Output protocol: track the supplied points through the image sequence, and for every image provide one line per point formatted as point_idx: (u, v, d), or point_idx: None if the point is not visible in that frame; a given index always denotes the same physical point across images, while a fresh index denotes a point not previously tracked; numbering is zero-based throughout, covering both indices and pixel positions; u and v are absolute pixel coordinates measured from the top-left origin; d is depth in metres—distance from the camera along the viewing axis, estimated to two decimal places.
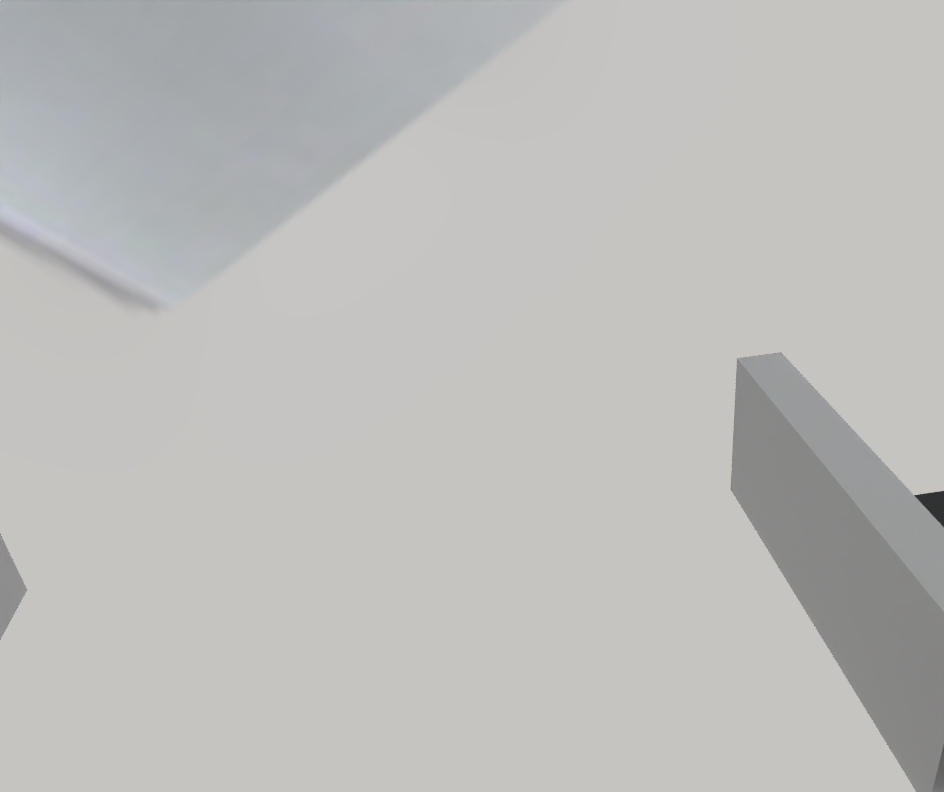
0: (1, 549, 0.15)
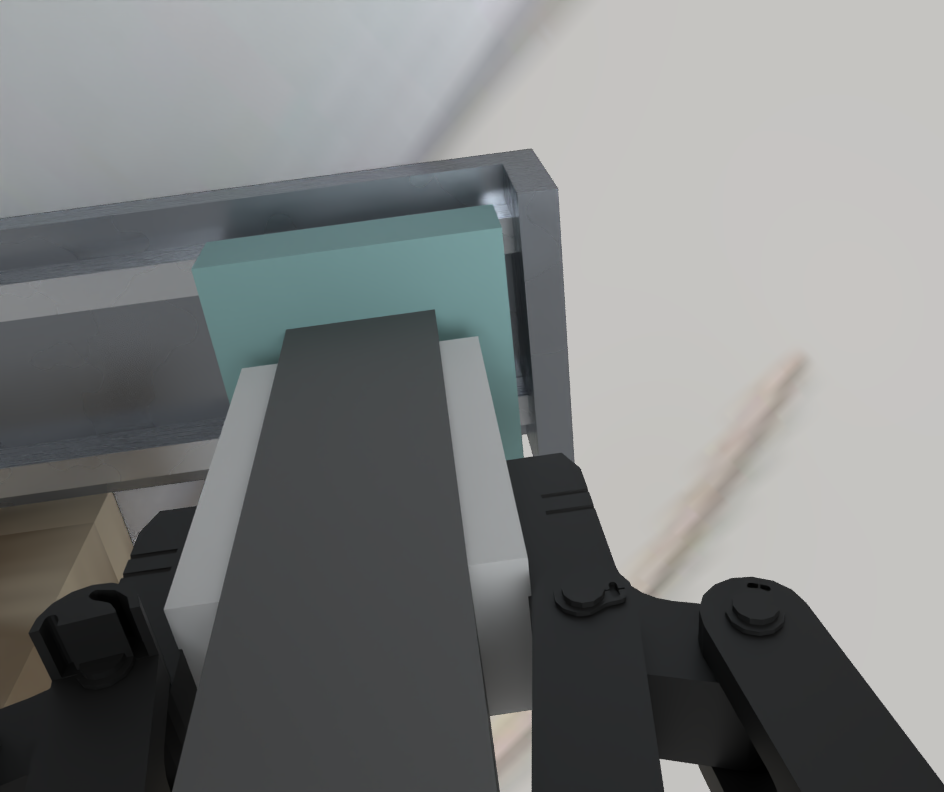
0: None
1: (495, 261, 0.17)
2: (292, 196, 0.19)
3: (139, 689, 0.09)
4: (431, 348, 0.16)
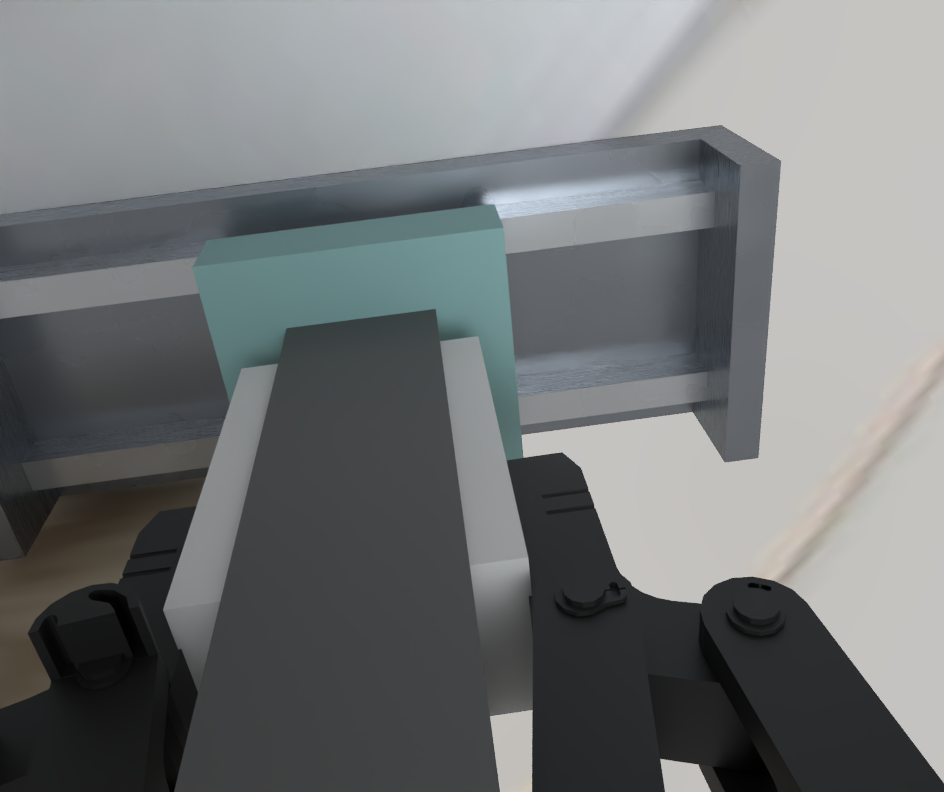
0: None
1: (496, 261, 0.17)
2: (492, 170, 0.19)
3: (138, 689, 0.09)
4: (432, 347, 0.16)
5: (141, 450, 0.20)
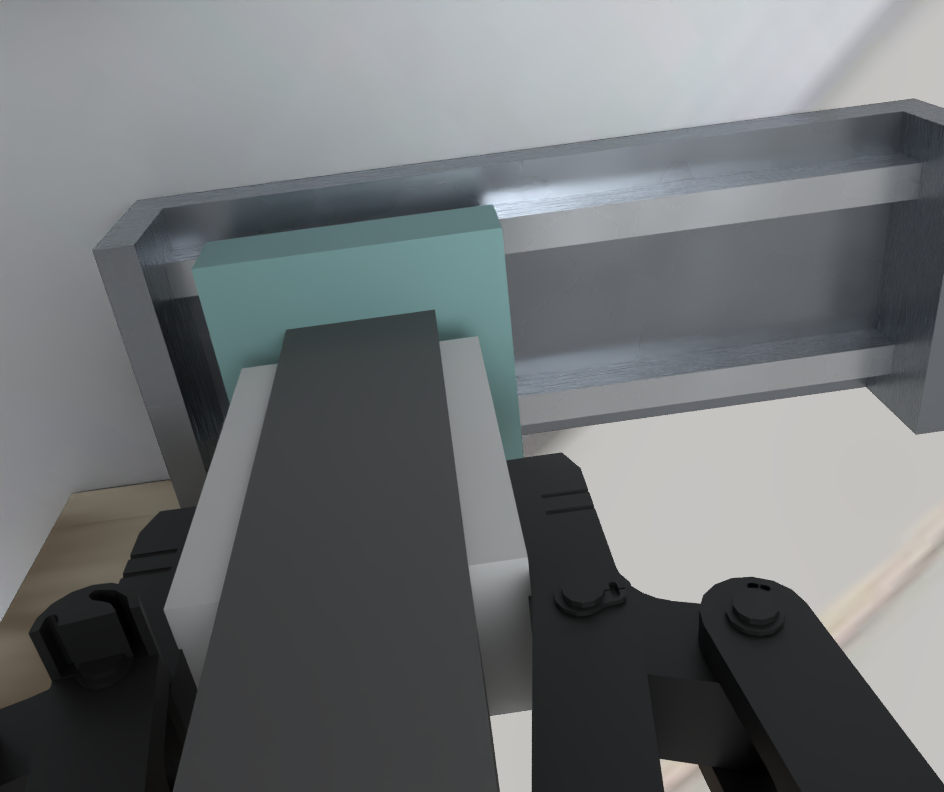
0: None
1: (495, 261, 0.17)
2: (695, 143, 0.19)
3: (139, 689, 0.09)
4: (431, 348, 0.16)
5: None
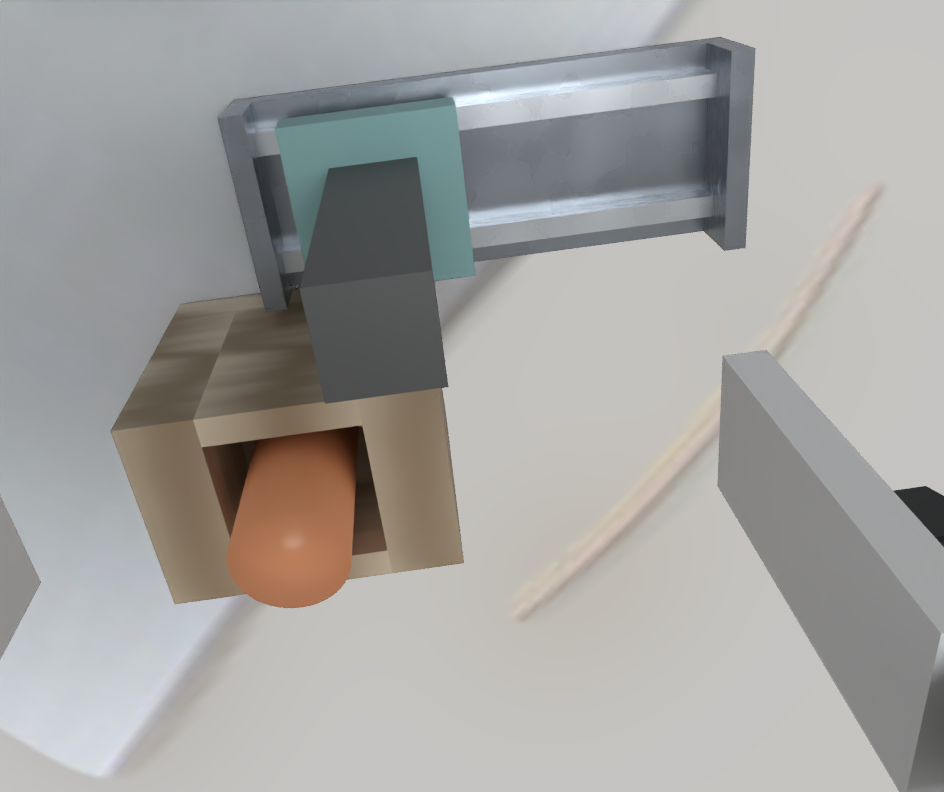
0: (16, 542, 0.15)
1: (452, 126, 0.28)
2: (579, 62, 0.31)
3: None
4: (413, 170, 0.27)
5: None
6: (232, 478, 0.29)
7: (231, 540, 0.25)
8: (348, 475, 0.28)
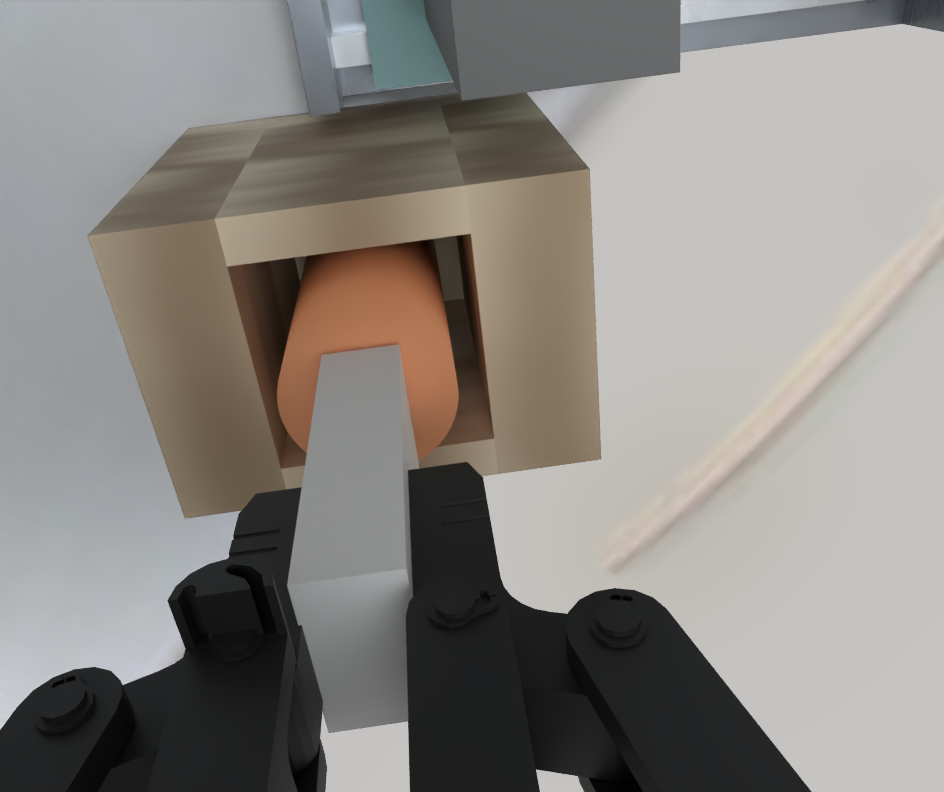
0: None
1: None
2: None
3: (268, 667, 0.10)
4: None
5: None
6: (267, 337, 0.20)
7: (284, 363, 0.17)
8: (440, 299, 0.20)
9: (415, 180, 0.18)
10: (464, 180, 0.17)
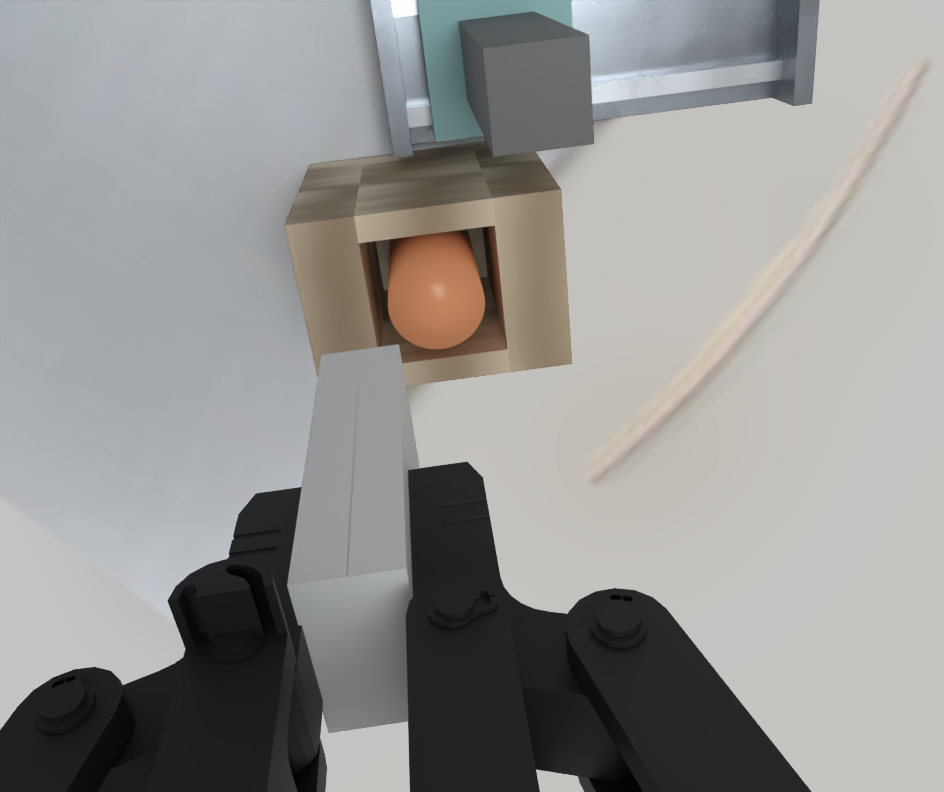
0: None
1: None
2: None
3: (267, 667, 0.10)
4: (536, 14, 0.32)
5: None
6: (371, 289, 0.34)
7: (393, 284, 0.31)
8: (473, 256, 0.34)
9: (463, 195, 0.31)
10: (491, 195, 0.31)
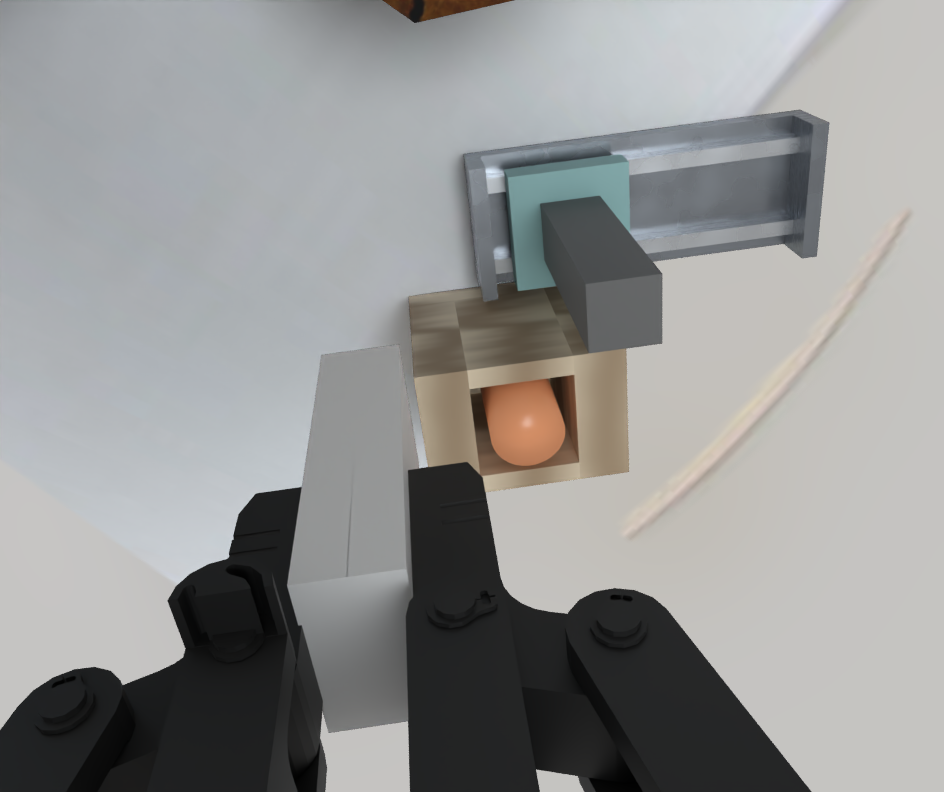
0: None
1: (625, 175, 0.42)
2: (704, 129, 0.44)
3: (267, 667, 0.10)
4: (604, 206, 0.41)
5: None
6: None
7: (495, 420, 0.40)
8: None
9: (549, 350, 0.40)
10: (571, 351, 0.40)
